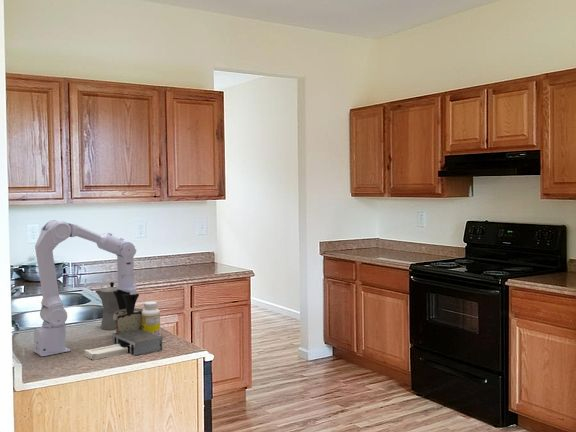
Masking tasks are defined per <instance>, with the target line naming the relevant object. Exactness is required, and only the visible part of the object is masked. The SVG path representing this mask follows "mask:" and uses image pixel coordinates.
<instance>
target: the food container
mask: <svg viewBox="0 0 576 432" xmlns="http://www.w3.org/2000/svg"><path fill="white" fill-rule="evenodd" d="M143 310H144V308H138V307H137V308H135V307H134V312H133V313H130V314H127V311H126V309H122V310H118V311H116V312H115V313H114V315H113V320H115V325H116V330H115V333H118V332H124V331H129V330H135V329H142V311H143Z"/></svg>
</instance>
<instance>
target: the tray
mask: <svg viewBox="0 0 576 432" xmlns="http://www.w3.org/2000/svg"><path fill="white" fill-rule="evenodd" d="M128 350H129V348H128V346H126V347H121V346H120V344H115V345H113V344H111V345H106V346H102V347H95V348H90V349H84V357H85V358H87V357H88V358H87V359H89V358H90V360H91V359H92V361H97V360H101V359H100V358H102V359H105V357H107V358H110V356H111V357H115V355H116V356H120V354H121V355H124V354H128V353H129V351H128ZM96 359H97V360H96Z"/></svg>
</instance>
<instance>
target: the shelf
mask: <svg viewBox="0 0 576 432" xmlns="http://www.w3.org/2000/svg"><path fill="white" fill-rule="evenodd" d="M112 338H113V342H112V343H113V344H112V345H115V344H120V346H121V347H123V348H126V347H129V353H130V355H133V356H134V357H136V356H140V355H141V356H142V355H144V354H145V355H146V354H150V353H153V352H159V351H163V337H162V336H161V335H160V336H158V335H155V334H152V333H150V332H147V331H144V330H142V329H135V330H129V331H124V332H118V333H116V332H113V334H112Z"/></svg>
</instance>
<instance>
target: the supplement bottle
mask: <svg viewBox="0 0 576 432" xmlns="http://www.w3.org/2000/svg"><path fill="white" fill-rule="evenodd" d="M157 306H158V302H157V301H144V303H143V307H144V308H143V311H142V330H144V331H147V332H150V333H152V334H155V335H158V336H160V337H161V312H160V311H161V310H160V309H158V307H157Z"/></svg>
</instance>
